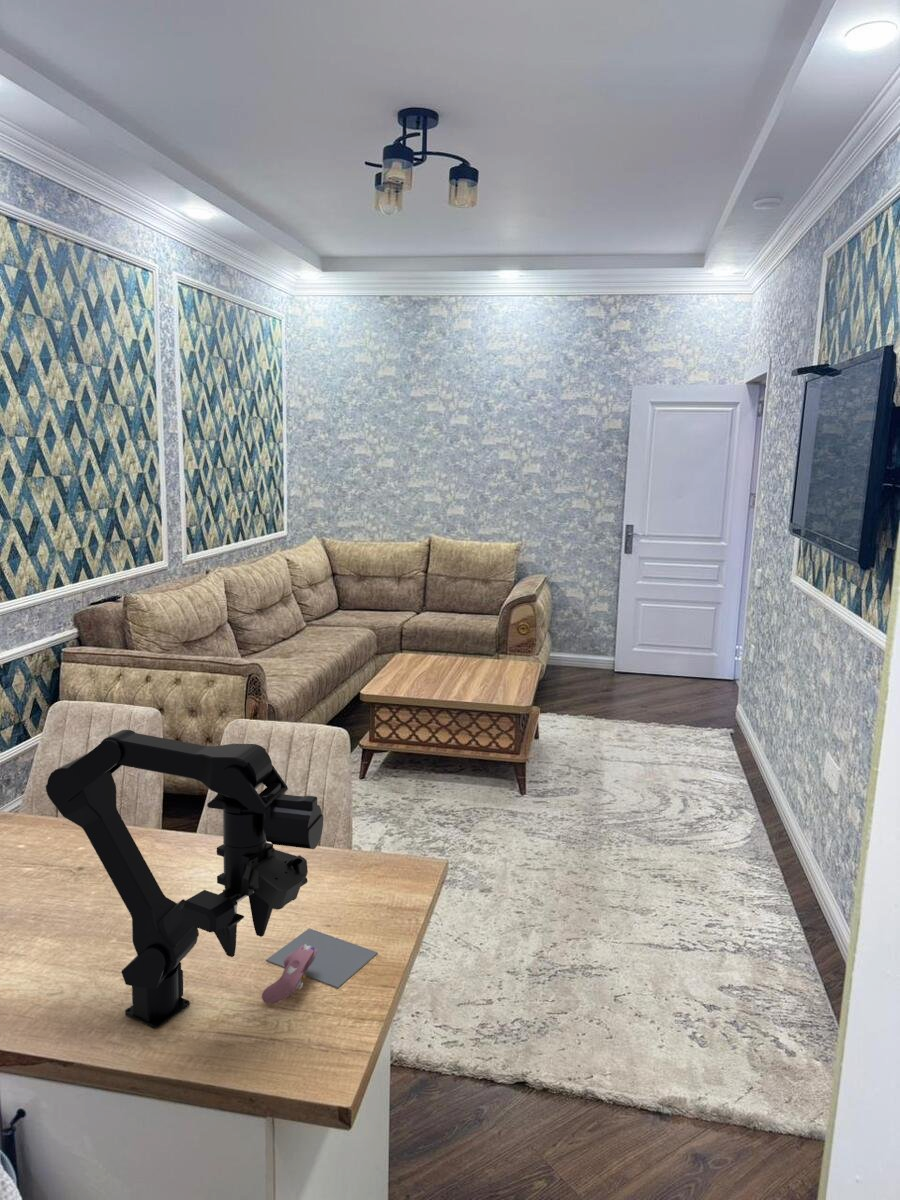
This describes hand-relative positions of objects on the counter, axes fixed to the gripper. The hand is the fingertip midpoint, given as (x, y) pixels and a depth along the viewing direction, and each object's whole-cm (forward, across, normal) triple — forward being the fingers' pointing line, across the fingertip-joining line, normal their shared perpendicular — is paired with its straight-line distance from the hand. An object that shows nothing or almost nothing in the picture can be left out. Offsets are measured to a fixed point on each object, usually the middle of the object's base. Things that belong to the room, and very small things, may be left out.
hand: (245, 945), depth 117 cm
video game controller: (+12, +10, 0) cm, 16 cm away
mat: (+12, +19, +1) cm, 22 cm away
